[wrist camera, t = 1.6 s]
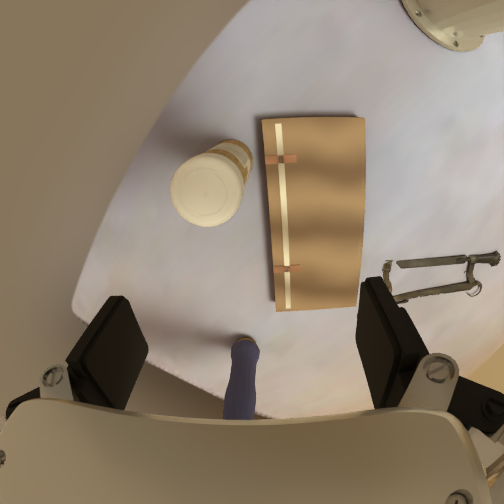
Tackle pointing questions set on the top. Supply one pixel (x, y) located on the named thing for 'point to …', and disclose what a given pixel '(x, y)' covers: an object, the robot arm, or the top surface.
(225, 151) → the sprinkles bottle
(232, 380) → the rubber mallet
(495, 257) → the hacksaw
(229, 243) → the top surface
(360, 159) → the board
